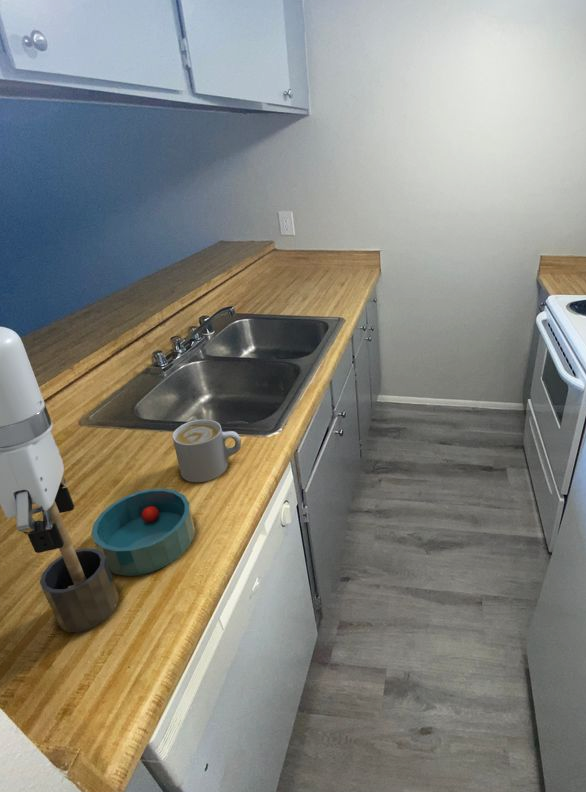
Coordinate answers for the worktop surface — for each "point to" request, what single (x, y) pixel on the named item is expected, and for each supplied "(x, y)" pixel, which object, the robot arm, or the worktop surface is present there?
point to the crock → (80, 591)
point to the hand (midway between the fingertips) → (56, 528)
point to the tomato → (150, 514)
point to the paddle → (67, 549)
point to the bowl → (144, 532)
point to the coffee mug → (203, 449)
